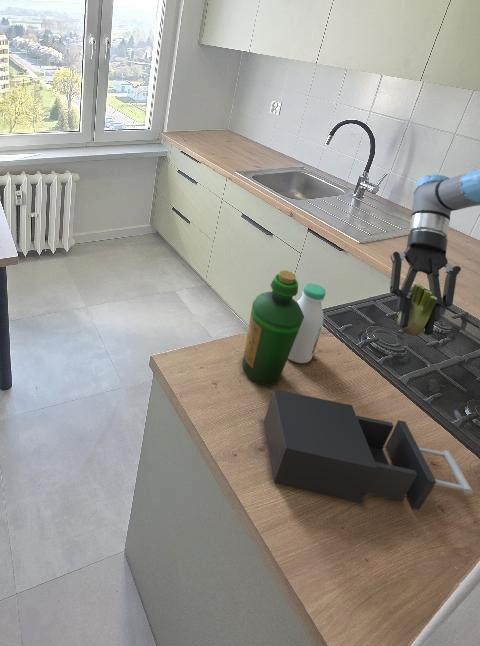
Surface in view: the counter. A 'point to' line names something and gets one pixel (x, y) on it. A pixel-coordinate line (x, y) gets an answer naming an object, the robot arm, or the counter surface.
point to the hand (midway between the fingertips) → (415, 329)
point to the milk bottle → (308, 323)
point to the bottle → (272, 330)
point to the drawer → (404, 464)
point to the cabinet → (318, 446)
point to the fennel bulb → (418, 310)
